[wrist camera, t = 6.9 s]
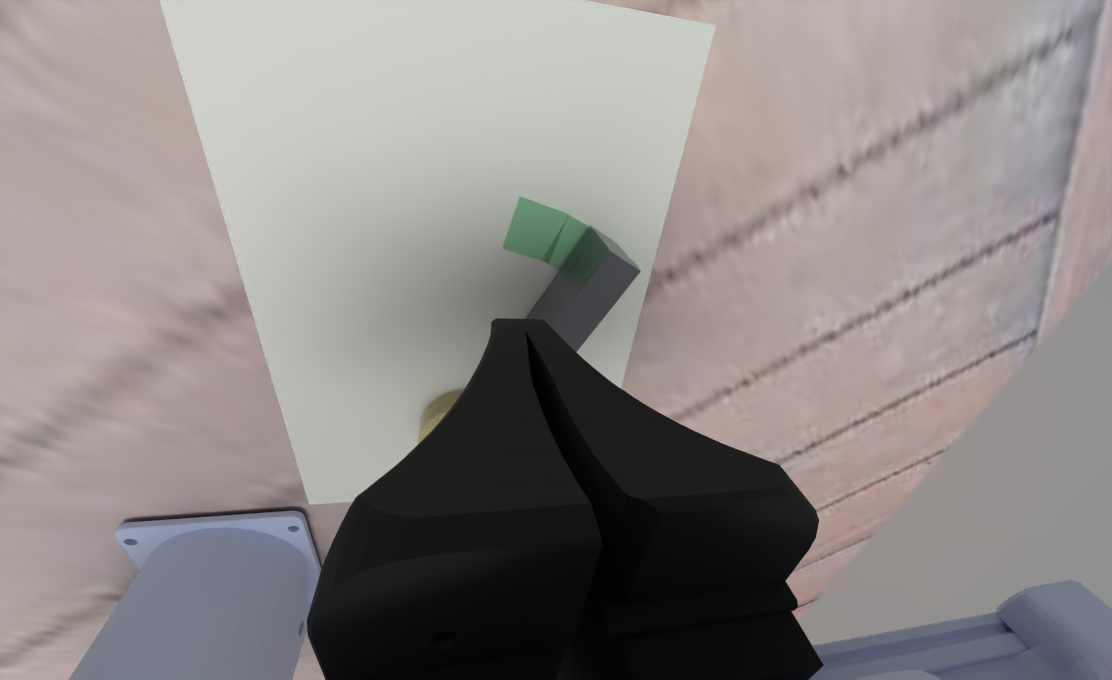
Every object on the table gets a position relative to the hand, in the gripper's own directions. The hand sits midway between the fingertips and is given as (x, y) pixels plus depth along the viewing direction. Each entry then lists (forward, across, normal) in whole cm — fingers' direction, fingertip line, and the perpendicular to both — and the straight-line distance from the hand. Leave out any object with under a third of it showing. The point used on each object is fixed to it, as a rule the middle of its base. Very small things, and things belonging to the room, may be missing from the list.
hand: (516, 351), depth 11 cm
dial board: (+6, +1, +2) cm, 7 cm away
